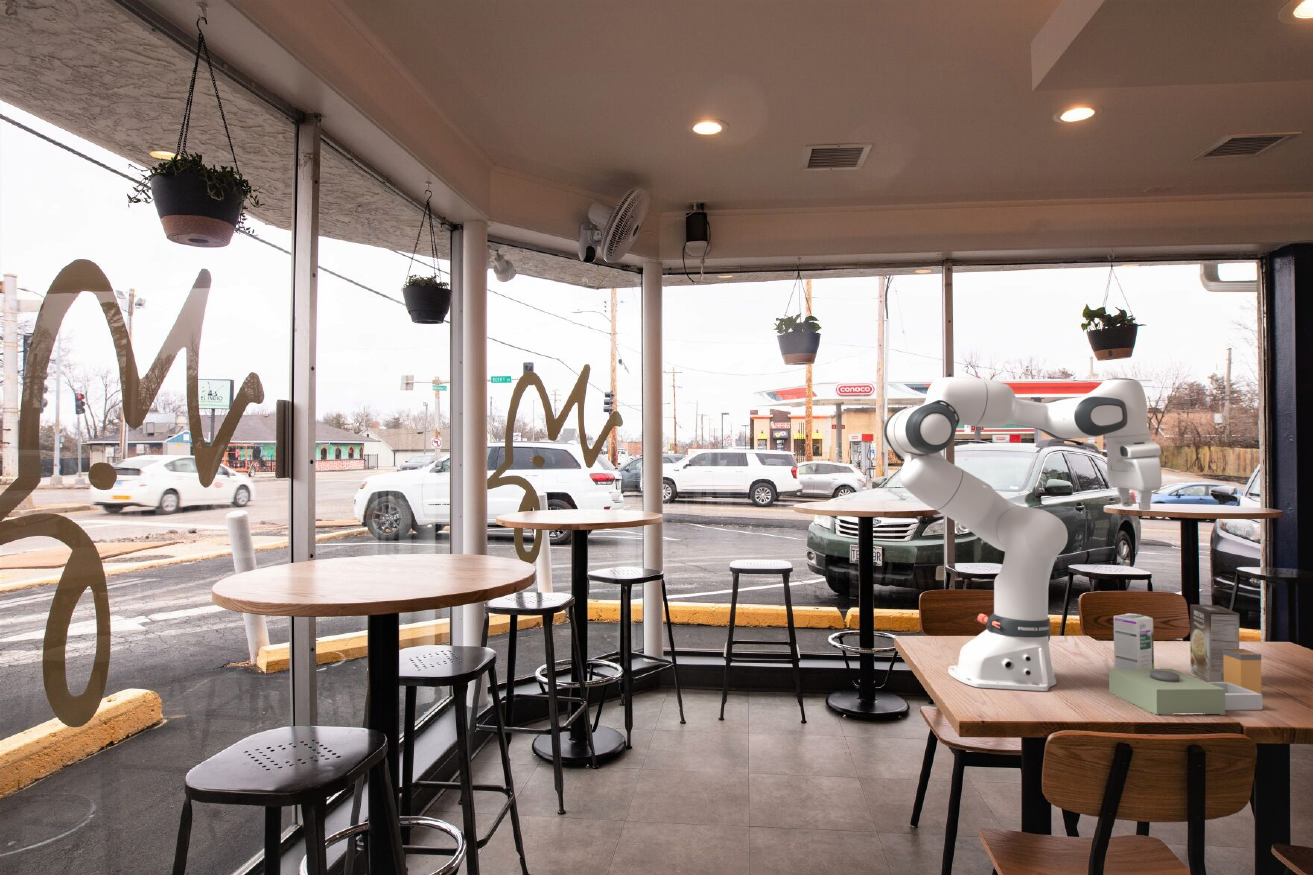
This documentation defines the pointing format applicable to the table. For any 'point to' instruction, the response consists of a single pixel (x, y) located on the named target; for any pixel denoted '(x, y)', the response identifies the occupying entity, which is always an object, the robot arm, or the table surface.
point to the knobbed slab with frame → (1179, 692)
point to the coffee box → (1211, 639)
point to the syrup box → (1133, 642)
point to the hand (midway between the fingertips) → (1135, 508)
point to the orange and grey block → (1243, 668)
